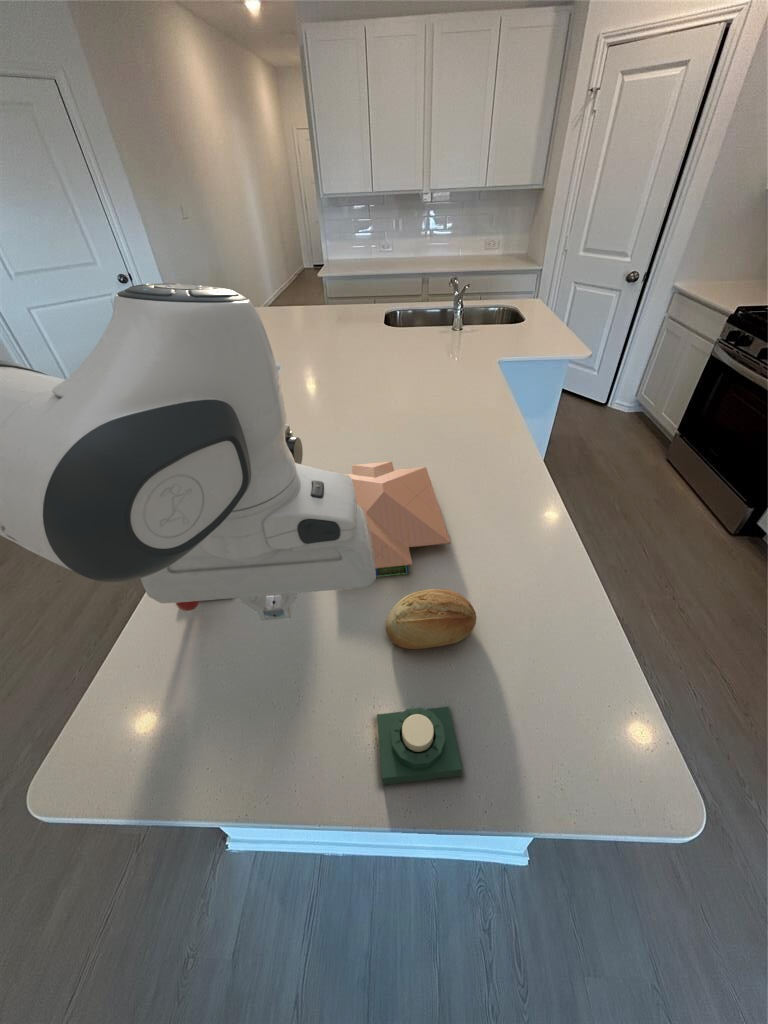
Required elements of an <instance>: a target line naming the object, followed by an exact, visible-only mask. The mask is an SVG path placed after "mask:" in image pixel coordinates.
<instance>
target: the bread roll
mask: <svg viewBox="0 0 768 1024" xmlns="http://www.w3.org/2000/svg"><path fill="white" fill-rule="evenodd" d="M386 618H387V619H386V621H385V628H384V629H385V633H386V636H387V637H388V639H389V640H390V641H391V642H392V644H394V645H396V646H398V647H400V648H403V649H408V650H421V649H429V648H435V647H442V646H447V645H448V646H449V645H453V644H456V643H459V642H460V641H462V640H464V639H466V638H467V637H468V636H469V635H470V634H471V633H472V632H473V630H474V628H475V626H476V624H477V613H476V610H475V609H474V606H473V605H472V603H471V602H470V601H469V600H468V599H467V598H466V597H464V596H463V595H462V594H460V593H458V592H456V591H453V590H449V589H440V588H431V589H430V588H429V589H422V590H418V591H414V592H412V593H409V594H408V595H405V596H404V597H402V598H401V599H400V600H399V601H398V602H397V603H395V605H394V606H393V607H392V609H391V610H390V612H389V613H388V616H387V617H386Z"/></svg>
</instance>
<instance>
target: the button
mask: <svg viewBox="0 0 768 1024" xmlns="http://www.w3.org/2000/svg"><path fill="white" fill-rule="evenodd" d="M433 735H434V728H433V725H432V723H431V721H430V720H429V719H428V718H427V717H425V716H424V715H420V714H414V715H411V716H409V717H408V718H407V719H406V720H405V721H404V723H403V726H402V739H403V742H404V744H405V745H406V747H407V748H409V749H410V750H412V751H415V752H422V751H425V750H427V749H428V748H429V747H430V746H431V744H432V742H433Z"/></svg>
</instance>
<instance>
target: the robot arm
mask: <svg viewBox="0 0 768 1024" xmlns="http://www.w3.org/2000/svg"><path fill="white" fill-rule="evenodd" d="M113 297H114V298H113V303H112V305H113V306H112V315H111V318H110V320H109V322H108V324H107V327H106V328H105V330H104V332H103V334H102V335H101V338H100V339H99V340H98V342H97V344H96V345H95V346H94V348H93V349H92V350H91V352H90V353H89V354H88V355H87V357H86V358H85V360H84V361H83V362H82V363H81V364H80V365H79V366H78V367H77V368H76V369H75V370H74V371H73V372H72V373H71V374H70V375H69V376H68V377H67V378H65V379H64V378H62V377H61V378H60V377H56V376H52V375H49V374H47V373H44V372H42V371H38V370H36V369H33V368H30V367H28V366H26V365H22V364H19V363H15V362H12V361H8V360H2V359H0V536H1V537H2V538H4V539H7V540H9V541H11V542H13V543H15V544H16V545H18V546H20V547H22V548H23V549H25V550H27V551H29V552H31V553H33V554H35V555H37V556H39V557H41V558H44V559H45V560H47V561H49V562H52V563H54V564H56V565H58V566H61V567H62V568H64V569H67V570H69V571H71V572H74V573H76V574H78V575H80V576H82V577H84V578H86V579H89V580H93V581H98V582H103V583H122V582H123V583H124V582H125V583H126V582H130V581H135V580H140V581H141V584H142V586H143V588H144V591H145V593H146V594H147V596H148V597H149V598H150V599H151V600H153V601H155V602H158V603H160V604H176V603H177V602H190V601H200V602H203V601H213V600H226V599H227V600H228V599H240V602H241V603H243V604H244V605H246V606H247V607H249V608H251V609H252V610H253V611H255V612H257V614H258V616H259V617H258V618H259V620H260V621H267V620H268V621H269V620H283V619H285V620H286V619H291V618H292V612H293V603H294V602H295V601H296V599H297V597H298V594H302V593H303V594H304V593H316V592H327V591H339V590H354V589H366V588H368V587H370V586H371V585H372V584H373V583H374V582H375V581H376V580H377V577H376V576H377V574H376V568H375V558H374V549H373V542H372V537H371V532H370V528H369V525H368V521H367V518H366V515H365V513H364V512H363V510H362V509H361V507H360V506H359V505H357V501H356V494H355V489H354V485H353V482H352V479H351V477H349V476H348V475H346V474H347V473H342V472H337V471H333V470H332V471H331V470H326V469H323V468H318V467H313V466H308V465H305V464H302V463H301V464H298V463H295V461H294V458H293V456H292V454H291V452H290V450H289V448H288V447H287V444H286V440H285V428H286V425H287V411H286V404H285V399H284V393H283V389H282V385H281V379H280V376H279V371H278V367H277V363H276V359H275V356H274V351H273V349H272V345H271V342H270V339H269V336H268V333H267V330H266V328H265V326H264V324H263V321H262V319H261V316H260V314H259V313H258V311H257V308H256V307H255V306H254V304H253V303H252V301H251V300H250V299H248V298H247V297H245V296H244V295H242V294H241V293H239V292H237V291H235V290H233V289H229V288H225V287H218V286H210V285H201V284H180V283H167V282H163V283H161V282H160V283H159V282H158V283H142V284H136V285H131V286H129V287H127V288H125V289H123V290H121V291H118V292H117V293H116V294H115V295H114V296H113Z"/></svg>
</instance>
